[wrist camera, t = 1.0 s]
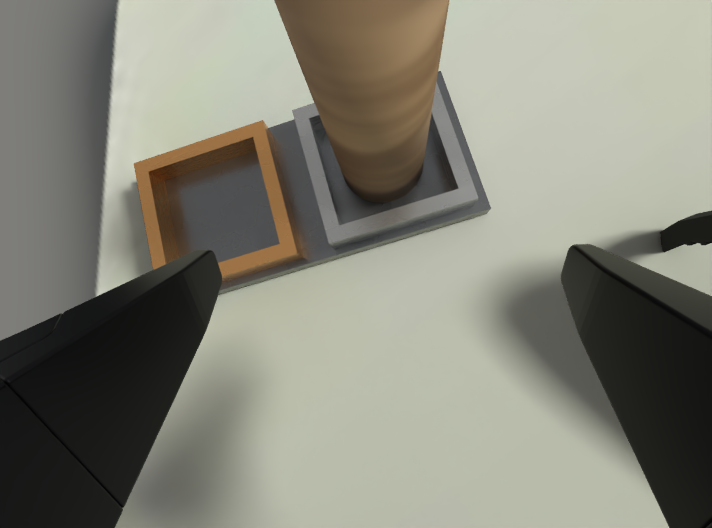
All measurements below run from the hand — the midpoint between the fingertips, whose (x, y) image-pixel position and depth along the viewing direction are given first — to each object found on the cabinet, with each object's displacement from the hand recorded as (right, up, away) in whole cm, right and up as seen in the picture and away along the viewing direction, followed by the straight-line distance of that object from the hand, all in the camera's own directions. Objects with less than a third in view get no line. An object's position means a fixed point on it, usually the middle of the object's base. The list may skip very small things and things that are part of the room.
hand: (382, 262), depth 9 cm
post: (+1, +6, +12) cm, 13 cm away
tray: (-4, +4, +13) cm, 15 cm away
